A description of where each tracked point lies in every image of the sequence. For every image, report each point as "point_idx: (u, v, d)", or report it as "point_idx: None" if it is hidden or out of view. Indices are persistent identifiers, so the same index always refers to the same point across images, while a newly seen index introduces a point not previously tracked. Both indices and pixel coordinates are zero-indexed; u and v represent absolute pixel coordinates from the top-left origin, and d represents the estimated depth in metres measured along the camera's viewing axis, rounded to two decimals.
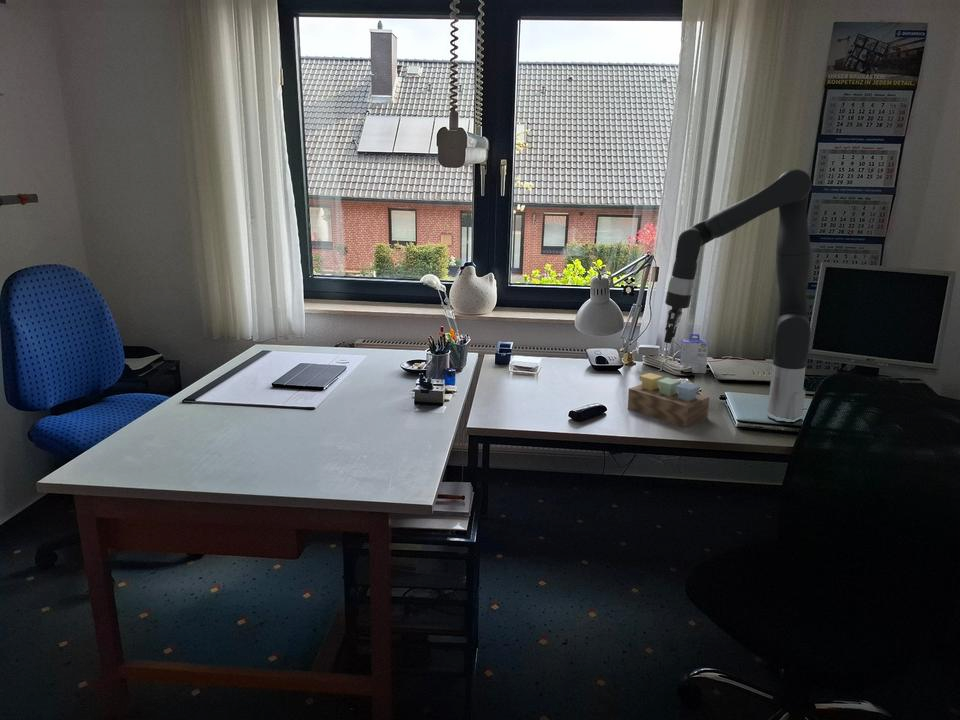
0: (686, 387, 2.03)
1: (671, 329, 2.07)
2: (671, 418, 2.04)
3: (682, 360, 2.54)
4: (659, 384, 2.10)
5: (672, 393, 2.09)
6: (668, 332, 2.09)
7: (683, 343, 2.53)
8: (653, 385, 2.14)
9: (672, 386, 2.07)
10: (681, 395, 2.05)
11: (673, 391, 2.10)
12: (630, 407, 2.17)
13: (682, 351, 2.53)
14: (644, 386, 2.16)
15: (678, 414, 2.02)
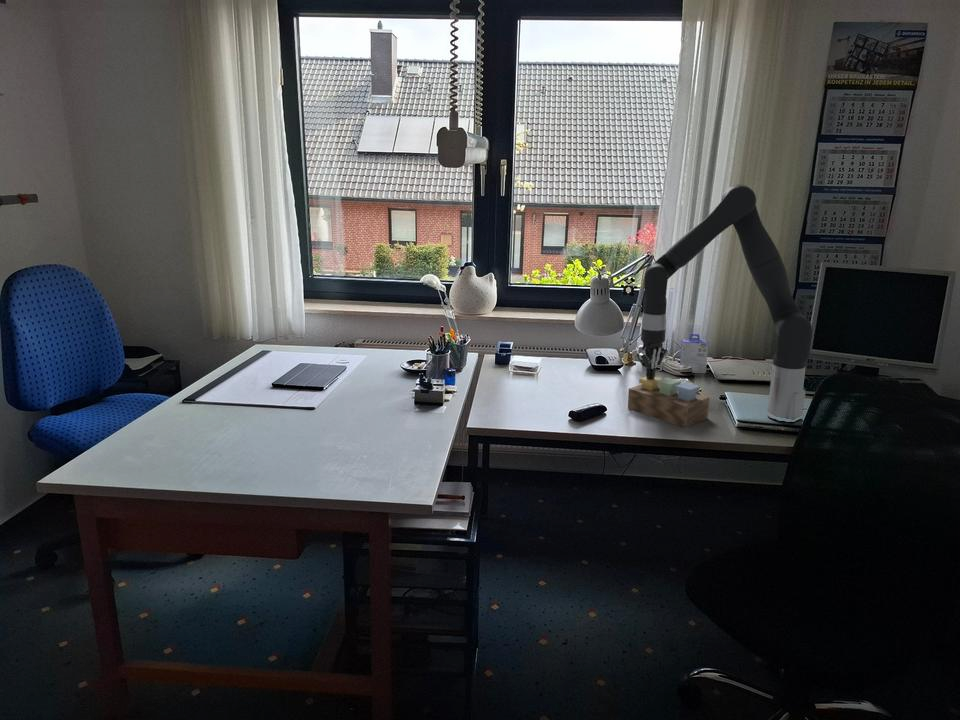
0: (686, 387, 2.03)
1: None
2: (671, 418, 2.04)
3: (682, 360, 2.54)
4: (659, 384, 2.10)
5: (672, 393, 2.09)
6: None
7: (683, 343, 2.53)
8: (653, 388, 2.14)
9: (672, 386, 2.07)
10: (681, 395, 2.05)
11: (673, 391, 2.10)
12: (630, 407, 2.17)
13: (682, 351, 2.53)
14: None
15: (678, 414, 2.02)
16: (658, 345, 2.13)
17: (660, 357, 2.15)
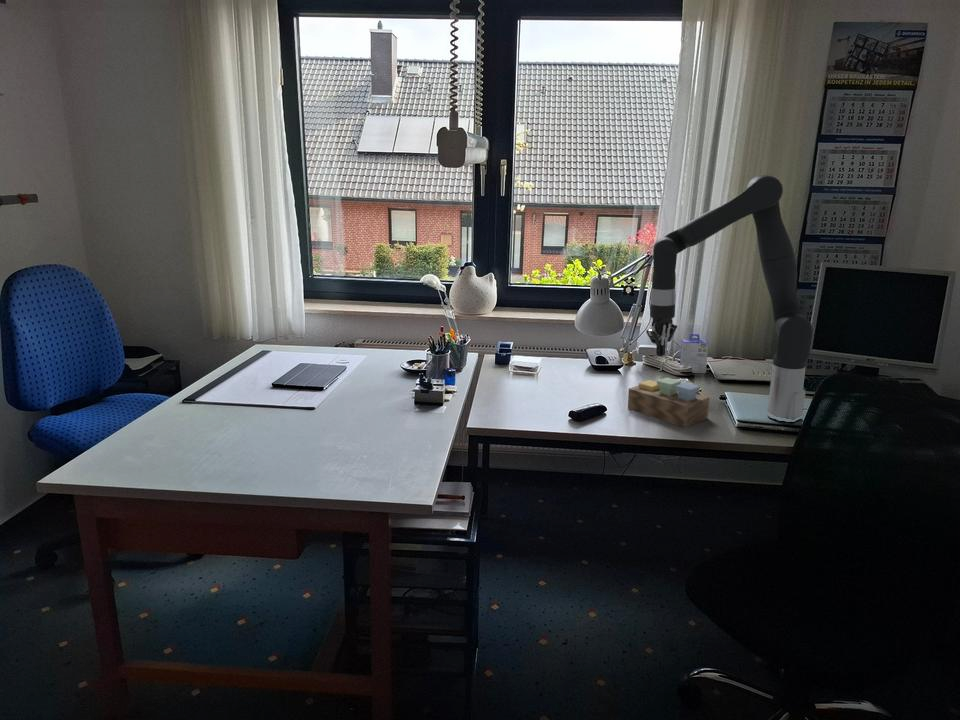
0: (686, 387, 2.03)
1: (656, 342, 2.08)
2: (671, 418, 2.04)
3: (682, 360, 2.54)
4: (659, 384, 2.10)
5: (672, 393, 2.09)
6: None
7: (683, 343, 2.53)
8: None
9: (672, 386, 2.07)
10: (681, 395, 2.05)
11: (673, 391, 2.10)
12: (630, 407, 2.17)
13: (682, 351, 2.53)
14: None
15: (678, 414, 2.02)
16: (668, 321, 2.08)
17: (670, 333, 2.11)
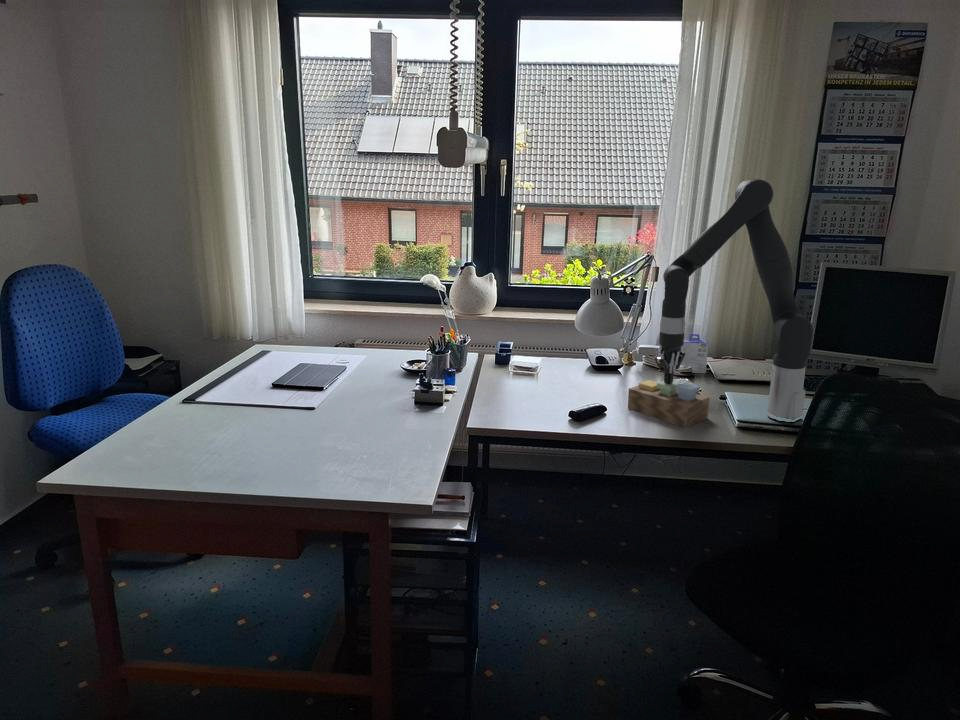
0: (686, 387, 2.03)
1: (664, 369, 2.07)
2: (671, 418, 2.04)
3: (682, 360, 2.54)
4: (659, 386, 2.10)
5: None
6: None
7: None
8: None
9: (672, 389, 2.08)
10: (681, 395, 2.05)
11: (673, 393, 2.10)
12: (630, 407, 2.17)
13: (682, 351, 2.53)
14: None
15: (678, 414, 2.02)
16: (676, 349, 2.07)
17: (678, 361, 2.10)
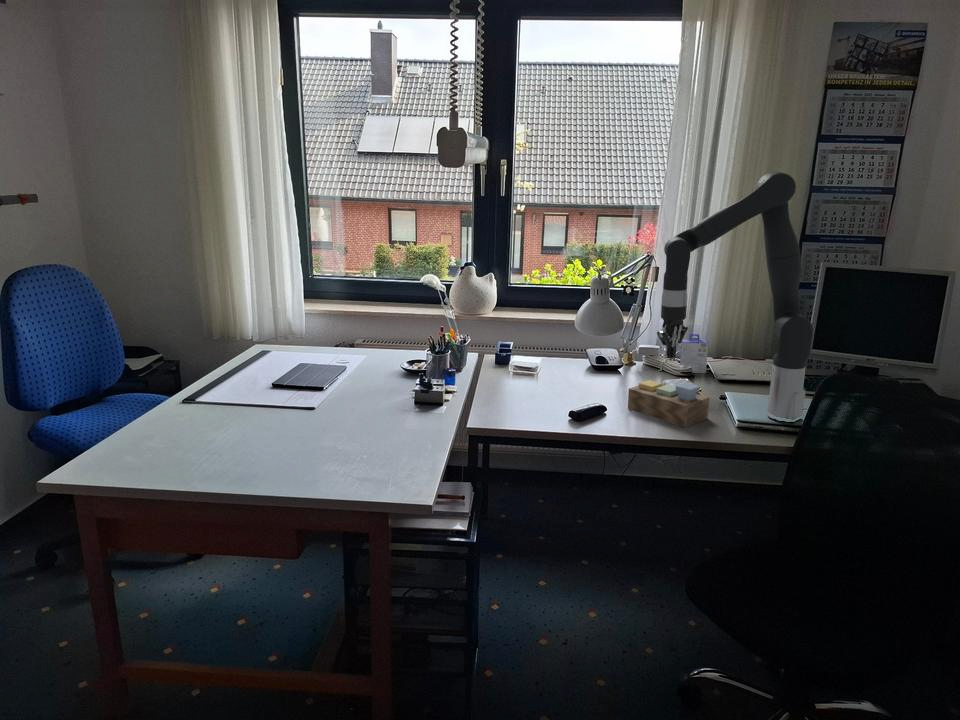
0: (686, 387, 2.03)
1: (667, 343, 2.04)
2: (671, 418, 2.04)
3: (682, 360, 2.54)
4: (659, 391, 2.11)
5: None
6: None
7: (683, 343, 2.53)
8: None
9: (672, 394, 2.08)
10: (681, 395, 2.05)
11: None
12: (630, 407, 2.17)
13: (682, 351, 2.53)
14: None
15: (678, 414, 2.02)
16: (679, 322, 2.05)
17: (681, 335, 2.07)
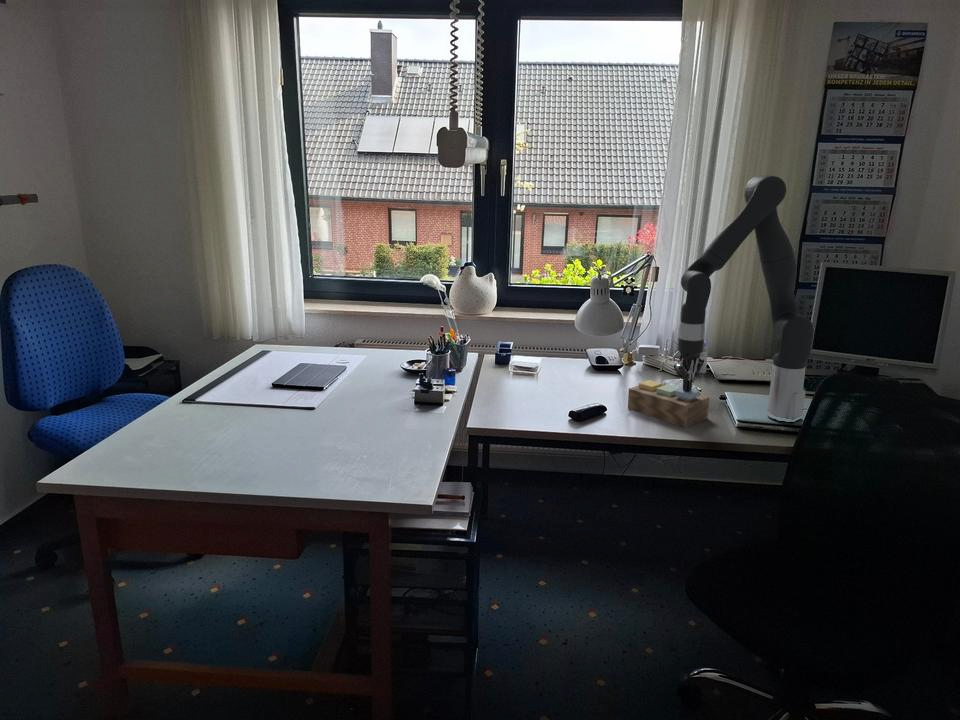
0: (685, 392, 2.04)
1: (683, 377, 2.01)
2: (671, 418, 2.04)
3: None
4: (659, 391, 2.11)
5: None
6: None
7: None
8: None
9: (672, 394, 2.08)
10: None
11: None
12: (630, 407, 2.17)
13: None
14: None
15: (678, 414, 2.02)
16: (696, 356, 2.02)
17: (697, 368, 2.04)
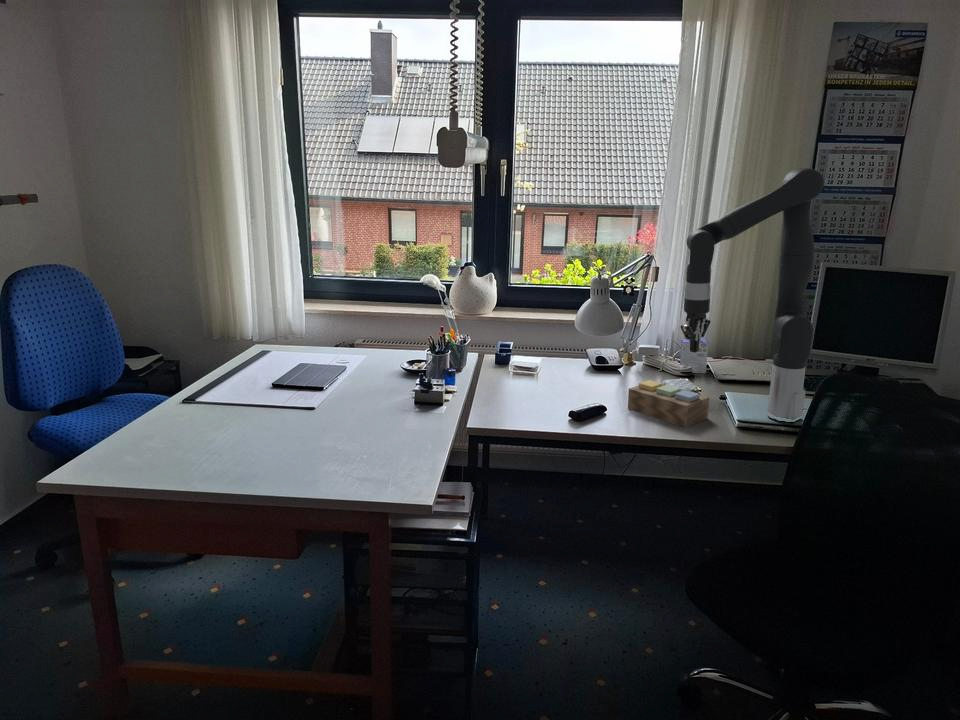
0: (685, 395, 2.04)
1: (690, 337, 2.02)
2: (671, 418, 2.04)
3: (682, 360, 2.54)
4: (659, 391, 2.11)
5: None
6: None
7: (683, 343, 2.53)
8: None
9: (672, 394, 2.08)
10: None
11: None
12: (630, 407, 2.17)
13: (682, 351, 2.53)
14: None
15: (678, 414, 2.02)
16: (702, 316, 2.03)
17: (704, 329, 2.05)
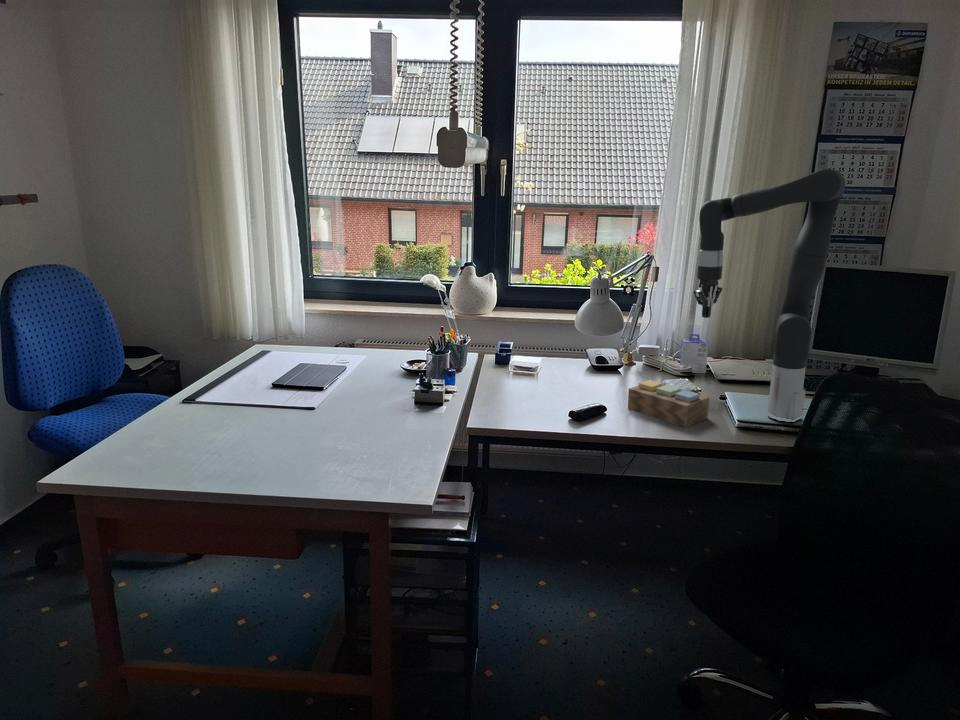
0: (685, 395, 2.04)
1: (703, 303, 2.12)
2: (671, 418, 2.04)
3: (682, 360, 2.54)
4: (659, 391, 2.11)
5: None
6: None
7: (683, 343, 2.53)
8: None
9: (672, 394, 2.08)
10: None
11: None
12: (630, 407, 2.17)
13: (682, 351, 2.53)
14: None
15: (678, 414, 2.02)
16: (714, 283, 2.13)
17: (716, 295, 2.15)
